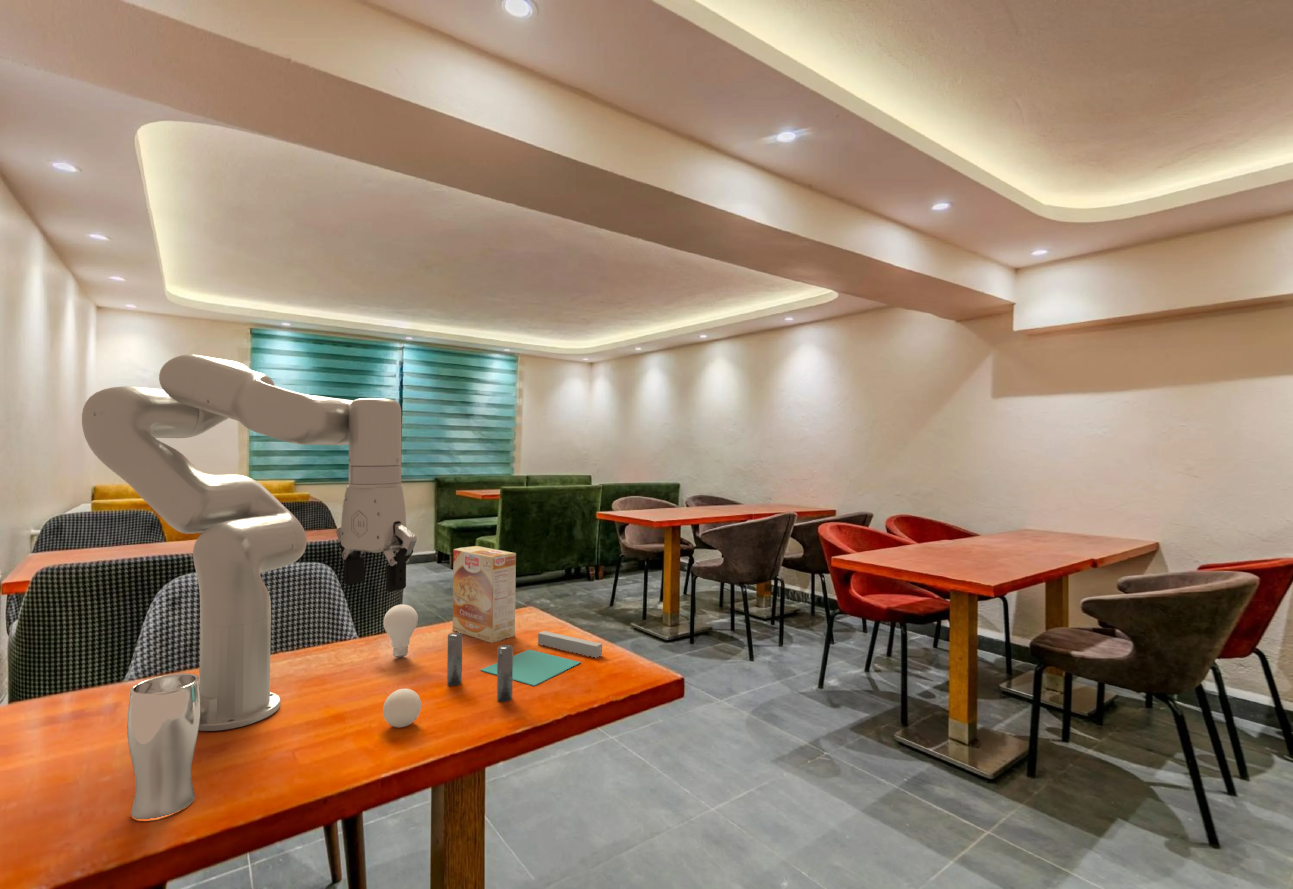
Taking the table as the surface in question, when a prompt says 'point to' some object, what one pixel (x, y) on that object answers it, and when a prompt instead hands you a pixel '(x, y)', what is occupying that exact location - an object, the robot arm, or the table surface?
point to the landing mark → (535, 667)
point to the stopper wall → (570, 644)
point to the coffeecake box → (484, 593)
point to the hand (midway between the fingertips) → (374, 586)
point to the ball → (402, 708)
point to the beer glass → (163, 742)
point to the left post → (454, 659)
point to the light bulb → (400, 627)
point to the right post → (504, 673)
